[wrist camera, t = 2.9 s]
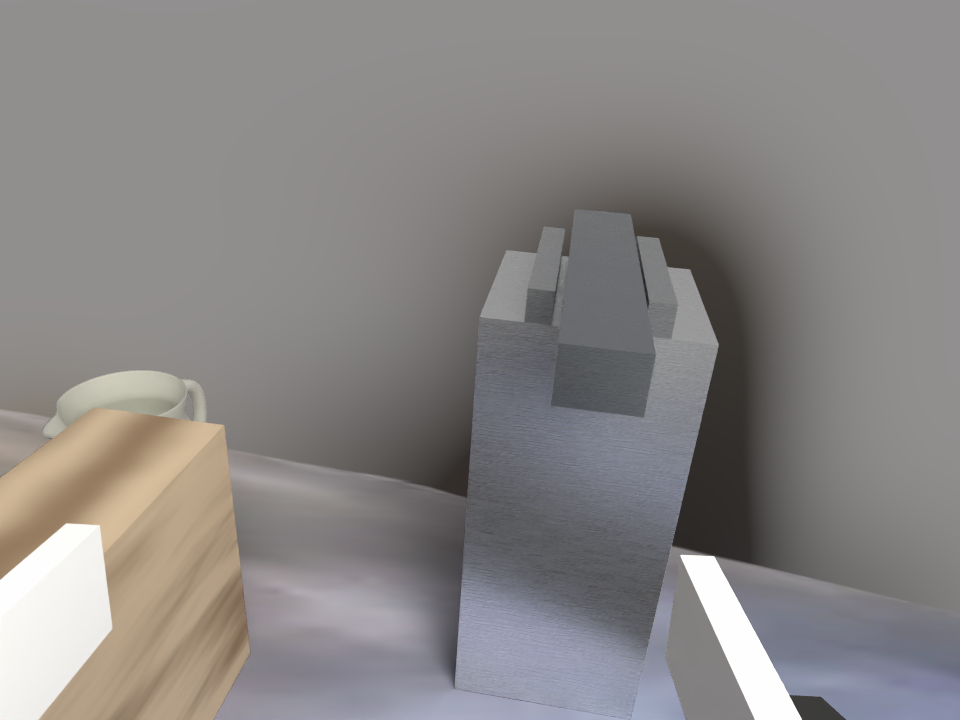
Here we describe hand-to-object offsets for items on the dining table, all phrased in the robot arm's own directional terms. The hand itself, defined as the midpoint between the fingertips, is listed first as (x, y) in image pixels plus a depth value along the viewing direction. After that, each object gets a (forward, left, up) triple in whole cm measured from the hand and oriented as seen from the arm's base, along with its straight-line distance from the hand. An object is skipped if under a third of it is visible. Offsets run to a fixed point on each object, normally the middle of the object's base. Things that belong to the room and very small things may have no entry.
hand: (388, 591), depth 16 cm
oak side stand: (-22, +15, -33) cm, 42 cm away
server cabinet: (+5, +31, -33) cm, 45 cm away
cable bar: (+5, +27, -3) cm, 28 cm away
